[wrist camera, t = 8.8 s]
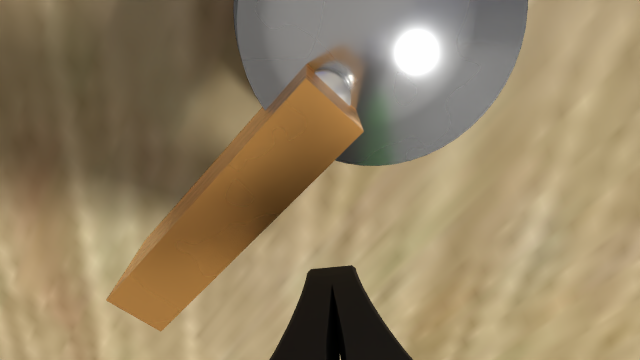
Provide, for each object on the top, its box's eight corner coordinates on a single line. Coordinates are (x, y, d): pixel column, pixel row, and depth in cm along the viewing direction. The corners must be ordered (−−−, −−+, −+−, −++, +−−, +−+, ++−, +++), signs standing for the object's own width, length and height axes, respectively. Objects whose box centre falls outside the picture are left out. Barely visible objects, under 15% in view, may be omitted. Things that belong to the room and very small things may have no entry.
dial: (371, -190, 8) (409, -302, 5) (532, 17, 10) (637, 33, 7) (95, 174, 12) (13, 246, 9) (252, 280, 14) (234, 373, 11)
